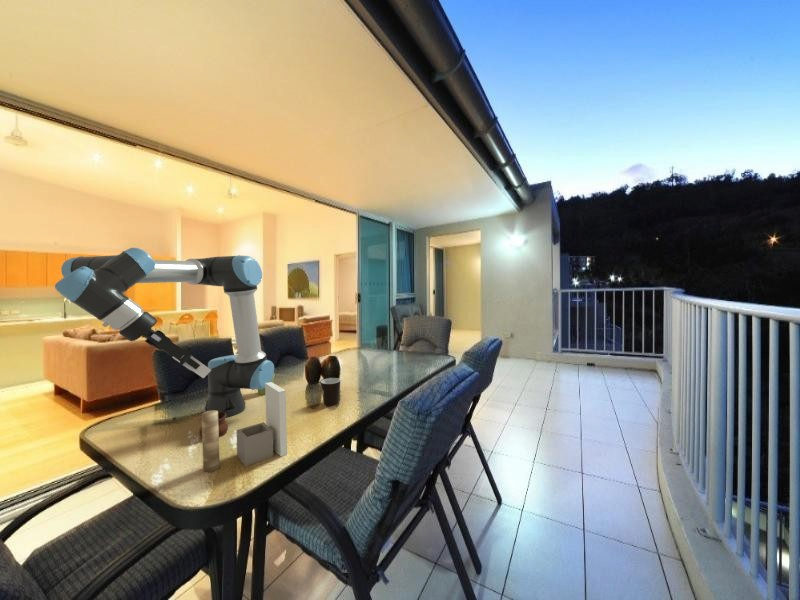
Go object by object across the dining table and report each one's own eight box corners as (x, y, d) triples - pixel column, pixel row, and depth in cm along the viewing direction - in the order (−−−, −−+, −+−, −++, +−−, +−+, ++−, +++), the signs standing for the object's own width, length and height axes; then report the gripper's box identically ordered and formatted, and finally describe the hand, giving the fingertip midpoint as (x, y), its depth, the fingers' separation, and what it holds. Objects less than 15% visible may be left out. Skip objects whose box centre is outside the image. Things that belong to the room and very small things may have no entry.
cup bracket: (247, 469, 87) (245, 399, 86) (235, 453, 96) (233, 389, 95) (287, 454, 95) (285, 390, 94) (272, 440, 103) (271, 381, 103)
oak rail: (199, 472, 86) (198, 415, 85) (209, 464, 90) (208, 410, 89) (213, 472, 85) (211, 416, 85) (222, 464, 89) (221, 410, 89)
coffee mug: (338, 406, 133) (338, 383, 133) (318, 406, 133) (318, 383, 133) (344, 397, 145) (343, 376, 144) (325, 397, 145) (325, 376, 144)
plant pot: (270, 396, 147) (269, 378, 147) (250, 396, 147) (250, 378, 147) (278, 390, 156) (277, 373, 156) (260, 390, 157) (259, 373, 156)
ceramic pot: (222, 420, 121) (222, 402, 120) (253, 429, 113) (252, 410, 112) (172, 441, 105) (170, 421, 104) (203, 454, 97) (202, 432, 96)
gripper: (113, 329, 84) (179, 373, 95) (121, 336, 67) (201, 390, 78) (138, 309, 88) (199, 354, 99) (152, 311, 71) (224, 365, 82)
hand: (200, 370), depth 88 cm, fingers open, 13 cm apart
